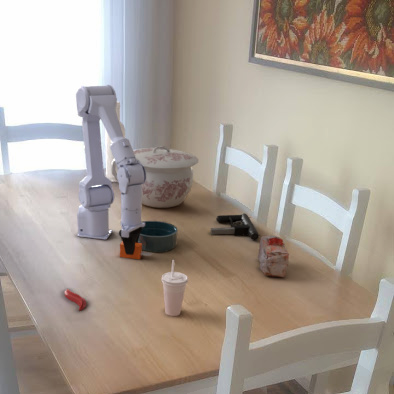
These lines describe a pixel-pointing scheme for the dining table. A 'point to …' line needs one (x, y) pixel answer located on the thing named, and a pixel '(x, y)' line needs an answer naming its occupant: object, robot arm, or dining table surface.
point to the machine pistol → (236, 226)
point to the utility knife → (137, 251)
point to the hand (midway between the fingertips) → (130, 252)
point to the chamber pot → (164, 175)
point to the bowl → (158, 236)
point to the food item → (273, 256)
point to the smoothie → (174, 291)
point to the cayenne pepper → (75, 299)
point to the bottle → (108, 151)
